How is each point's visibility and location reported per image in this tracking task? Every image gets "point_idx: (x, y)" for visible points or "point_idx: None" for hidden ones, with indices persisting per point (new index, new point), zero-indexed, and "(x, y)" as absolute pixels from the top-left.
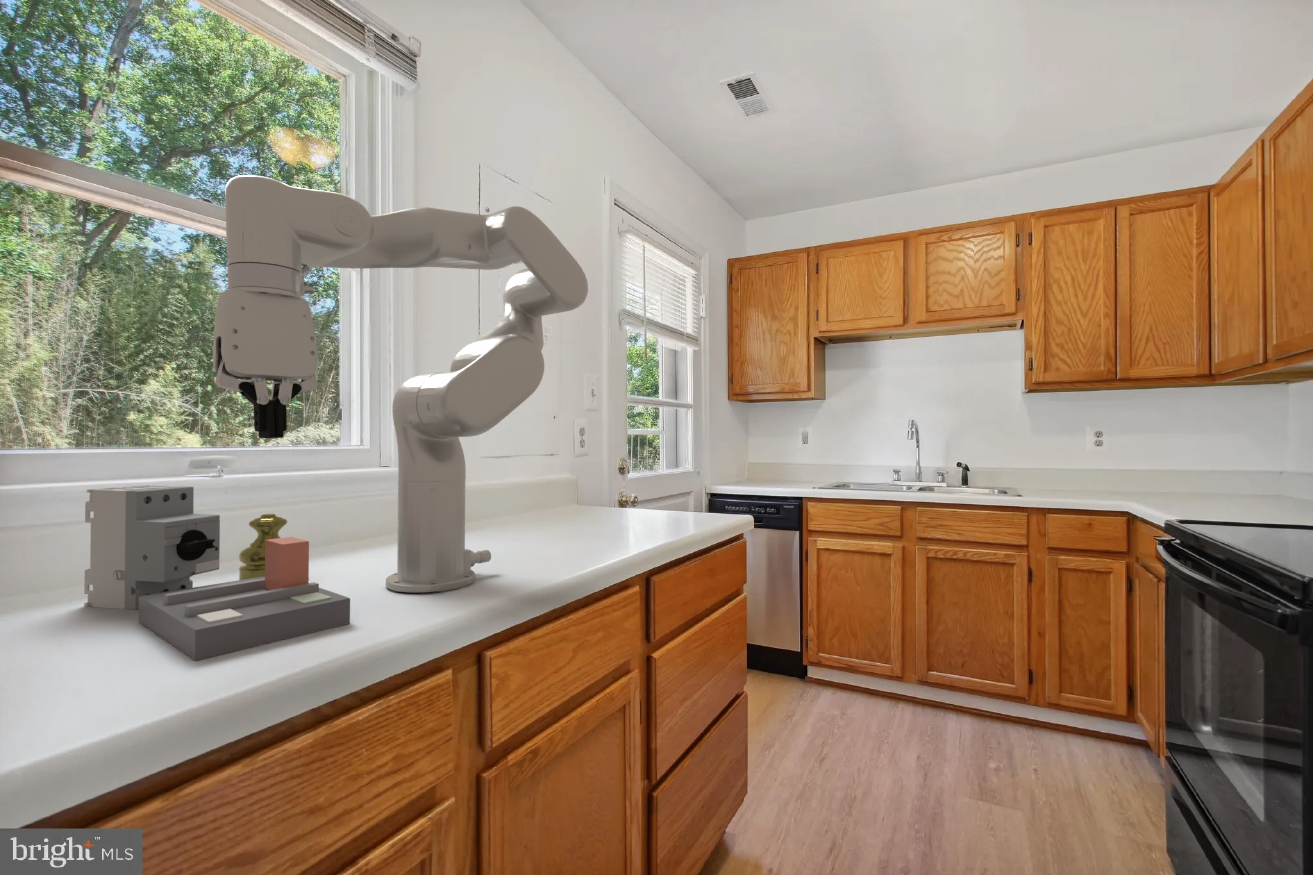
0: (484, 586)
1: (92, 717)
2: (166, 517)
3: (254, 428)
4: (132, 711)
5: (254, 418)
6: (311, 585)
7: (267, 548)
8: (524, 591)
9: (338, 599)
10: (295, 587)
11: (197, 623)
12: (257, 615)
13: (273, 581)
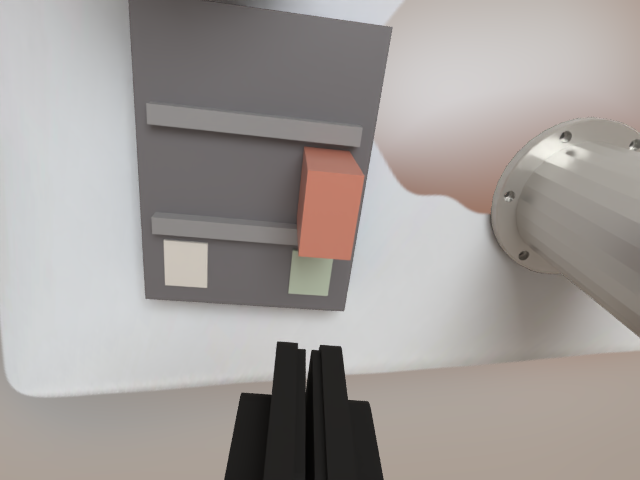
0: None
1: (56, 351)
2: None
3: (241, 394)
4: (84, 362)
5: (232, 443)
6: None
7: (305, 178)
8: (568, 347)
9: (330, 304)
10: None
11: (155, 272)
12: (222, 295)
13: (300, 189)
